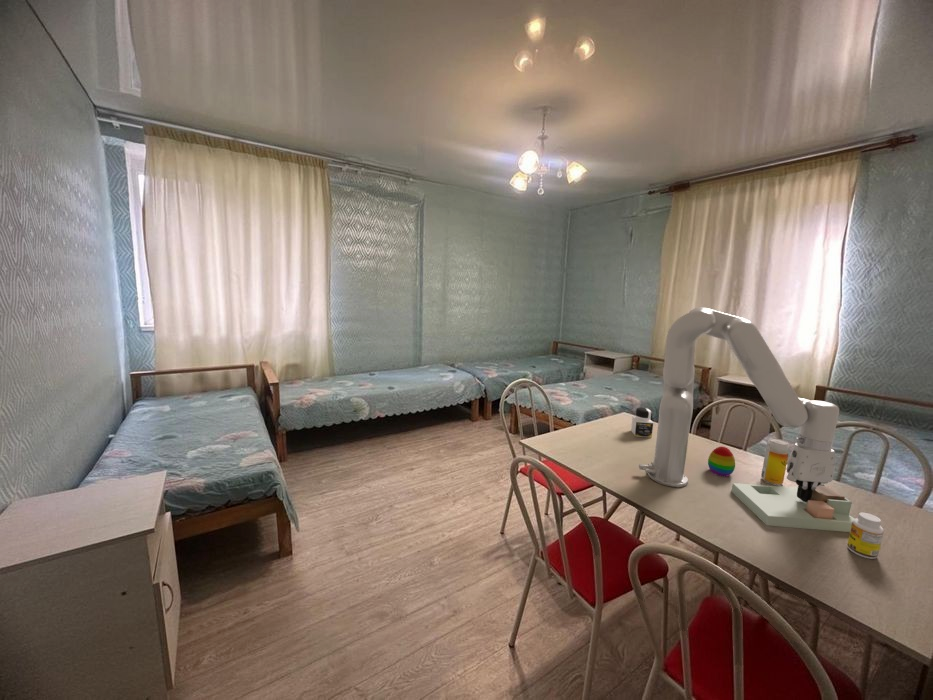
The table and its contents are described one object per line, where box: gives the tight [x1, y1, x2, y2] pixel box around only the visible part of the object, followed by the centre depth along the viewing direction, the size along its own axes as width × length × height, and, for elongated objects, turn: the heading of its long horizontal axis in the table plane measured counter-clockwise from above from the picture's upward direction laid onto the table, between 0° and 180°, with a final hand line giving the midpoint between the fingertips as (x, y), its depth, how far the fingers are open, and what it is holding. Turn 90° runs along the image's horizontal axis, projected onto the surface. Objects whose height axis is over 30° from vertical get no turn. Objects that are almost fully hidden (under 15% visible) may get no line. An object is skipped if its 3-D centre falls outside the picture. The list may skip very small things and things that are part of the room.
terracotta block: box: [806, 500, 834, 519], centre depth 111 cm, size 4×4×6 cm
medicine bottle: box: [630, 407, 654, 439], centre depth 173 cm, size 7×7×12 cm
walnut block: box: [811, 485, 846, 504], centre depth 115 cm, size 6×6×4 cm
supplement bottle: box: [847, 512, 885, 560], centre depth 98 cm, size 6×6×10 cm
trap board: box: [731, 482, 855, 533], centre depth 116 cm, size 24×18×7 cm
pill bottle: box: [760, 437, 791, 486], centre depth 133 cm, size 6×6×15 cm
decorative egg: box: [707, 446, 736, 477], centre depth 139 cm, size 8×8×10 cm
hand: (803, 499), depth 116 cm, fingers closed
